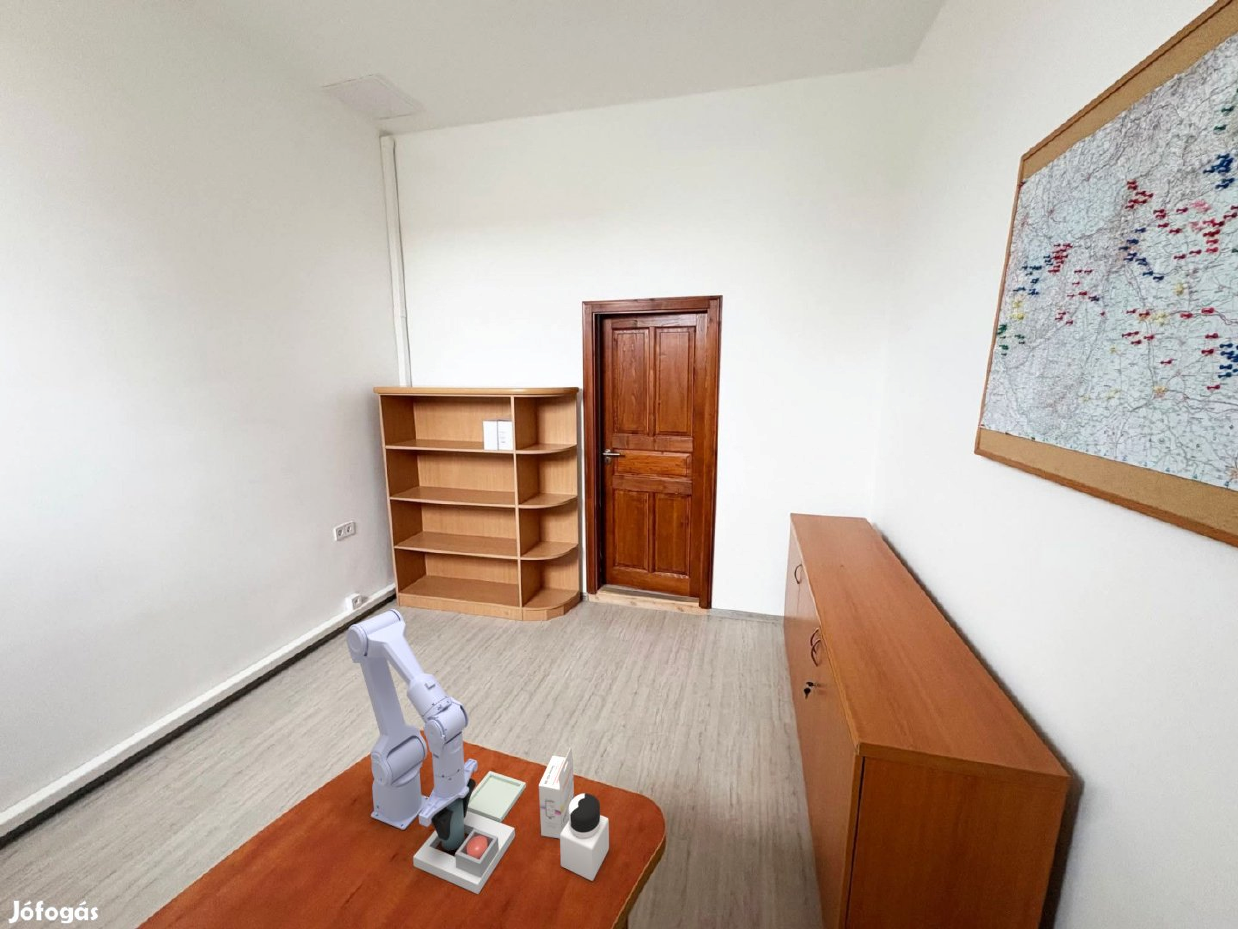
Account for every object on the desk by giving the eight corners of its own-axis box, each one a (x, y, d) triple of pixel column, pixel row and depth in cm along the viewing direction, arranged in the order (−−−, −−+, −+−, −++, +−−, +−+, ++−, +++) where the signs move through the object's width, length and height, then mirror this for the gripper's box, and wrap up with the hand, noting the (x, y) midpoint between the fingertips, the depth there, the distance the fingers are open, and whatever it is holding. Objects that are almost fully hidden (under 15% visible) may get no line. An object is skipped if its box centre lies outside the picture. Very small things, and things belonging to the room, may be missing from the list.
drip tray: (462, 809, 102) (462, 804, 102) (489, 775, 111) (489, 771, 111) (500, 823, 99) (500, 818, 98) (525, 787, 108) (525, 782, 108)
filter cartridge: (436, 846, 92) (434, 810, 91) (451, 827, 96) (449, 793, 95) (454, 853, 91) (452, 817, 90) (469, 834, 95) (467, 799, 94)
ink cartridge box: (553, 801, 104) (551, 742, 102) (574, 805, 103) (573, 745, 101) (539, 836, 96) (537, 772, 94) (562, 840, 95) (560, 776, 93)
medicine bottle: (609, 849, 93) (609, 795, 91) (592, 882, 86) (591, 825, 85) (578, 835, 96) (577, 783, 94) (560, 866, 89) (558, 811, 88)
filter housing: (413, 866, 90) (412, 843, 89) (455, 814, 101) (454, 794, 100) (478, 894, 84) (476, 870, 84) (514, 836, 96) (513, 815, 95)
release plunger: (463, 863, 88) (462, 850, 87) (475, 845, 91) (475, 833, 91) (479, 870, 86) (479, 857, 86) (492, 852, 90) (491, 839, 90)
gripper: (438, 801, 83) (443, 867, 85) (488, 745, 97) (491, 803, 98) (408, 790, 86) (413, 854, 87) (460, 737, 99) (463, 794, 101)
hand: (452, 827), depth 93 cm, fingers closed on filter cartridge, 4 cm apart
